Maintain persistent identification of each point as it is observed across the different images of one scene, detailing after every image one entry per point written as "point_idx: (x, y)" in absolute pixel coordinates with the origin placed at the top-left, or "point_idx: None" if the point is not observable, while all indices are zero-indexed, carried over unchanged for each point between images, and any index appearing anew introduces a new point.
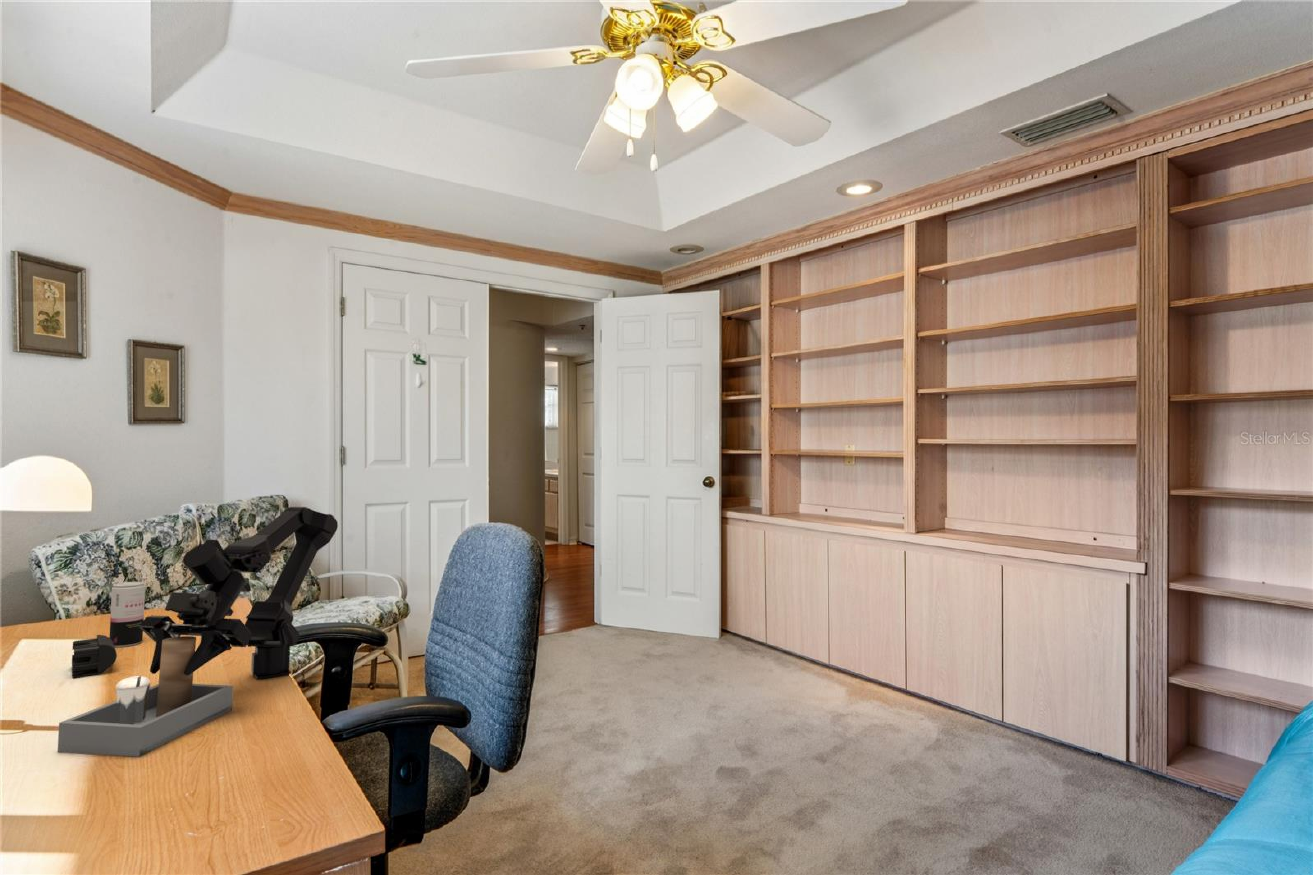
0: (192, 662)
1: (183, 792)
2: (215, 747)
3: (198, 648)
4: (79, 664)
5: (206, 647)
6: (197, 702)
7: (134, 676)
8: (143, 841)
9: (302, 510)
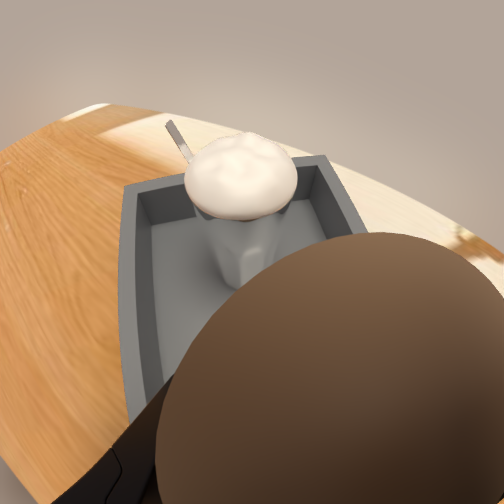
0: (146, 407)
1: (29, 190)
2: (46, 297)
3: (127, 485)
4: None
5: (70, 498)
6: (122, 365)
7: (261, 164)
8: (31, 144)
9: None
